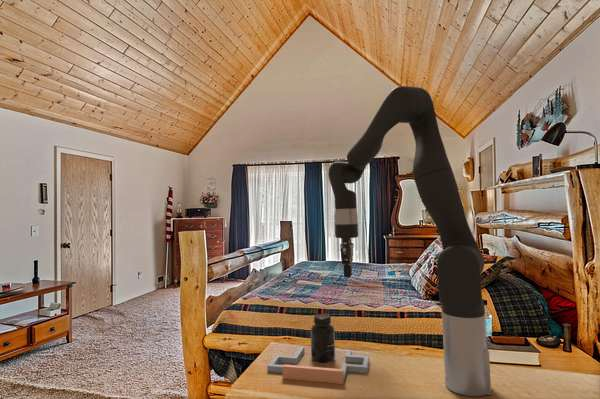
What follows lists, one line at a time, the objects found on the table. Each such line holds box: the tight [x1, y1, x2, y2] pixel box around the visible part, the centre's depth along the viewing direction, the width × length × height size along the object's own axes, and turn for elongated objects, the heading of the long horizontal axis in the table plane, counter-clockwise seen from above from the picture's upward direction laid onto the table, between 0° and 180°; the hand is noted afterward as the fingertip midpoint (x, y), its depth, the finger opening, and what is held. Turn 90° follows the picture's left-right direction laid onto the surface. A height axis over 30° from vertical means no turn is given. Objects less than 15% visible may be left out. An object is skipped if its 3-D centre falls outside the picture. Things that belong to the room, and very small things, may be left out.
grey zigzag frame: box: [267, 345, 370, 385], centre depth 97 cm, size 26×18×3 cm
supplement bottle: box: [310, 313, 336, 364], centre depth 102 cm, size 7×7×12 cm
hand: (347, 276), depth 115 cm, fingers closed
